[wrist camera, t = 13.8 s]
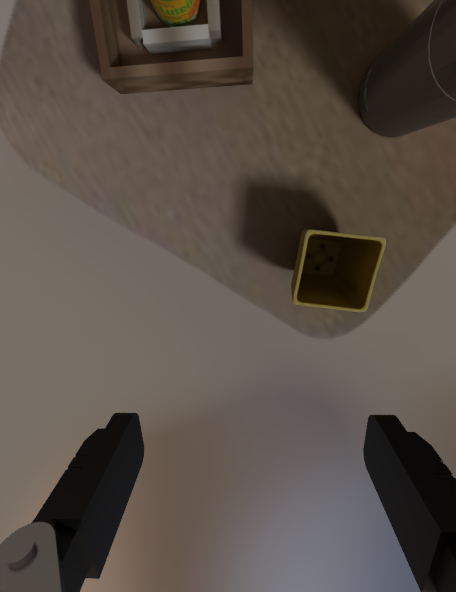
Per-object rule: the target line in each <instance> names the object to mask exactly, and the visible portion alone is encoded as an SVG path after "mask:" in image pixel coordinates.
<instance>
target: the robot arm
mask: <svg viewBox="0 0 456 592" xmlns="http://www.w3.org/2000/svg"><path fill="white" fill-rule="evenodd" d="M359 109H360V114H361V116H362V119H363V121H364V122H365V124H366V125H367V126H368V128H369V129H371V130H372V131H373V132H374V133H376V134H379V135H381V136H386V137H398V136H402V135H405V134H408V133H411V132H414V131H417V130H420V129H423V128H426V127H429V126H432V125H435V124H438V123H441V122H443V121H446V120H449V119H452V118H455V117H456V0H434V1H433V2H432V3H431V4H430V5H429V6H428V7H427V8H426V9H425V10H424V11H423V12H422V13H421V14H420V15H419V16H418V17H417V18H416V19H415V20H414V21H413V22H412V23H411V24H410V25H409V26H408V27H407V28H406V29H405V30H404V31H403V32H402V33H401V34H400V35H399V36H398V37H397V38H396V39H395V40H394V41H393V42H392V43H391V44H390V45H389V46H388V47H387V48H386V49H385V50H384V51H383V52H382V53H381V54H380V55H379V56H378V57H377V58H376V59H375V60H374V62H373V63H372V64H371V65H370V66H369V68H368V70H367V71H366V73H365V75H364V77H363V80H362V83H361V85H360V90H359ZM143 457H144V444H143V437H142V432H141V426H140V421H139V416H138V414H137V413H115V414H114V415H113V416H112V417H111V419H110V421H109V423H108V424H107V426H106V428H105V429H97V430H96V431H95V432H94V433H93V434H92V435H90V436H89V437H88V438H87V439H86V440H85V441H84V442H83V444H82V446H81V447H80V449H79V450H78V452H77V453H76V457H75V458H73V460H72V461H71V463H70V464H69V466H68V469H67V470H66V471H65V472H64V474H63V475H62V477H61V478H60V480H59V482H58V483H57V485H56V486H55V488H54V489H53V491H52V493H51V494H50V496H49V497H48V499H47V500H46V502H45V504H44V505H43V507H42V508H41V510H40V511H39V513H38V514H37V516H36V518H35V519H34V520H33V522H32V523H31V524H28V525H26V526H23V527H21V528H20V529H18V530H16V531H15V532H14V533H12V534H11V535H10V536H9V537H7V538H6V539H5V540H4V541H3V542H2V543H1V544H0V592H80V589H81V587H82V585H83V582H84V580H85V578H97V579H99V578H100V575H101V572H102V570H103V567H104V565H105V562H106V559H107V556H108V554H109V551H110V548H111V546H112V543H113V540H114V538H115V535H116V532H117V530H118V527H119V524H120V522H121V519H122V516H123V514H124V511H125V508H126V506H127V503H128V500H129V497H130V495H131V492H132V490H133V487H134V484H135V482H136V479H137V476H138V473H139V471H140V468H141V465H142V462H143ZM364 461H365V465H366V468H367V470H368V473H369V475H370V477H371V480H372V482H373V484H374V486H375V489H376V491H377V493H378V496H379V498H380V500H381V502H382V505H383V507H384V509H385V511H386V514H387V516H388V518H389V521H390V523H391V525H392V527H393V530H394V532H395V534H396V536H397V539H398V541H399V543H400V546H401V548H402V550H403V552H404V554H405V557H406V559H407V561H408V564H409V566H410V568H411V570H412V573H413V575H414V577H415V580H416V582H417V584H418V586H419V588H420V591H421V592H456V479H455V478H453V474H452V473H451V472H450V470H449V469H448V468H447V466H446V465H445V464H443V461H442V459H441V458H440V457H439V455H438V454H437V453H436V451H435V450H434V448H433V447H432V446H431V445H430V444H429V443H428V442H426V441H425V440H424V439H423V438H422V437H420V436H419V435H418V434H417V433H415V432H407V431H406V430H405V428H404V427H403V425H402V424H401V422H400V421H399V419H398V418H397V417H396V416H395V415H370V416H369V418H368V423H367V430H366V436H365V443H364Z"/></svg>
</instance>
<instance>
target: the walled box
mask: <svg viewBox="0 0 456 592" xmlns="http://www.w3.org/2000/svg"><path fill="white" fill-rule="evenodd" d="M89 3H90V9H91V15H92V21H93V27H94V33H95V39H96V45H97V52H98V58H99V64H100V70H101V76H102V80H103V81H105V82H106V83H107V84H109V85H110V86H111V87H113V88H114V89H115V90H116V91H118V92H119V93H120V94H127V93H140V92H153V91H167V90H180V89H193V88H206V87H219V86H232V85H245V84H252V77H253V30H252V0H202V4H201V9H200V12H199V14H198V16H197V18H196V19H195V20H194V21H193V22H192V23H191V24H190V25H188V26H181V27H170V26H168V25H167V24H165V23H164V22H163V21H162V20H161V19H160V17H159V16H158V14H157V13H156V11H155V9H154V7H153V5H152V3H151V1H150V0H89Z"/></svg>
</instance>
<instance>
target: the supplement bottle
mask: <svg viewBox="0 0 456 592" xmlns="http://www.w3.org/2000/svg"><path fill="white" fill-rule="evenodd" d="M150 1H151V3H152V5H153V7H154V9H155V11H156V13H157V14H158V16H159V17H160V19H161V20H162V21H163V22H164V23H165V24H167V25H168V26H170V27H181V26H188V25H190V24H191V23H192V22H193V21H194V20H195V19H196V18H197V16H198V14H199V12H200V9H201V4H202V0H150Z"/></svg>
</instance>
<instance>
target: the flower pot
mask: <svg viewBox="0 0 456 592" xmlns="http://www.w3.org/2000/svg"><path fill="white" fill-rule="evenodd" d="M321 244H324V247H323V248H321V247H320V245H321ZM385 245H386V239H385V238H383V237H375V236H365V235H356V234H347V233H338V232H330V231H321V230H314V229H304V230H303V231H302V232H301V236H300V242H299V248H298V253H297V259H296V264H295V269H294V274H293V279H292V284H291V290H292V300H293V303H294V304H296V305H303V306H312V307H321V308H330V309H338V310H346V311H354V312H365V311H366V310H367V308H368V304H369V301H370V297H371V293H372V289H373V285H374V281H375V278H376V274H377V271H378V268H379V265H380V262H381V258H382V255H383V252H384V249H385ZM307 254H310V257H309V258H307V257H306V255H307ZM330 257H333V260H331V261H330V260H329V258H330ZM317 266H318V267H319V270H316V269H315V268H316V267H317Z"/></svg>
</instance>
